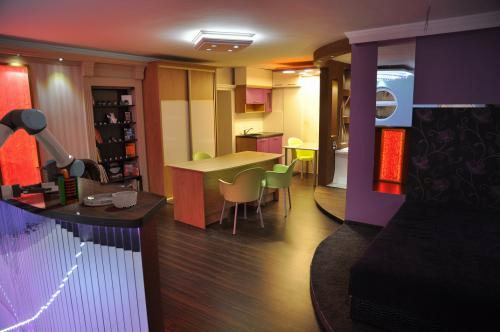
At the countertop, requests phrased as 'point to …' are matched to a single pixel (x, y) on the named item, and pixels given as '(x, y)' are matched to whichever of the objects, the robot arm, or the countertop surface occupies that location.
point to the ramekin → (124, 199)
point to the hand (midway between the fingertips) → (56, 186)
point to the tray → (98, 200)
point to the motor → (68, 188)
